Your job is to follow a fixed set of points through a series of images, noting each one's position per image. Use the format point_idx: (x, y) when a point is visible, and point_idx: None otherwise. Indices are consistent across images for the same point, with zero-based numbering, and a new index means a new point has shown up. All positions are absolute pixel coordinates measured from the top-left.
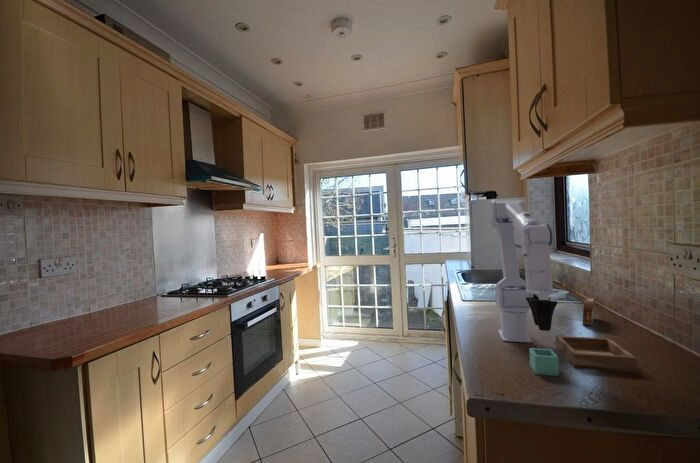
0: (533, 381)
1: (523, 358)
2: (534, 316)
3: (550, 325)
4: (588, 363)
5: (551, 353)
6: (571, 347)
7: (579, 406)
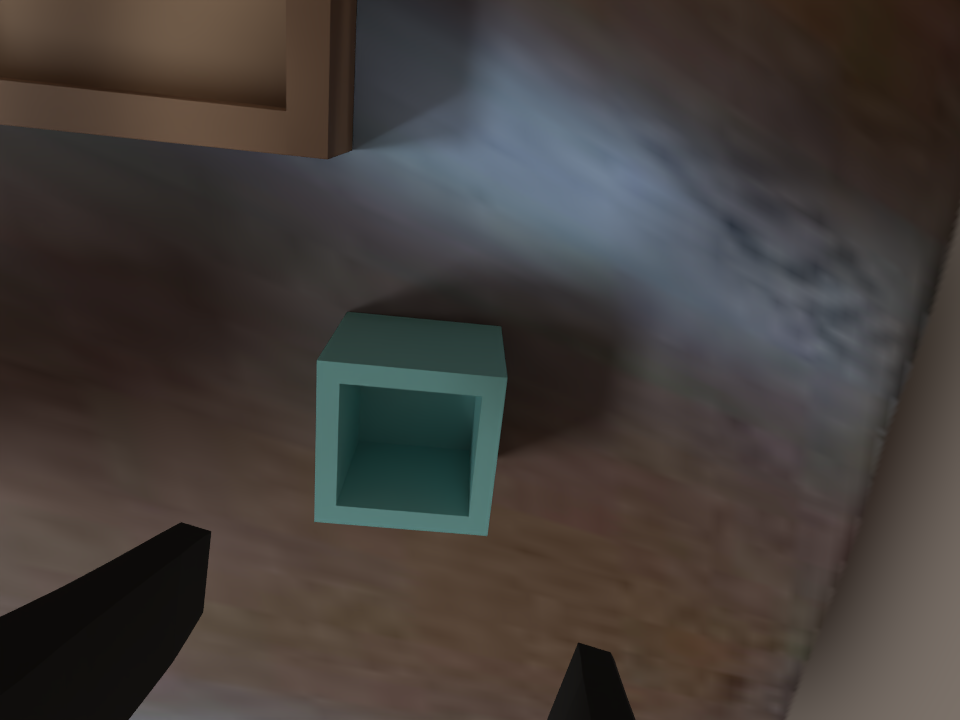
0: (591, 504)
1: (233, 452)
2: (126, 711)
3: (627, 707)
4: (347, 30)
5: (392, 383)
6: (138, 96)
7: (884, 378)
